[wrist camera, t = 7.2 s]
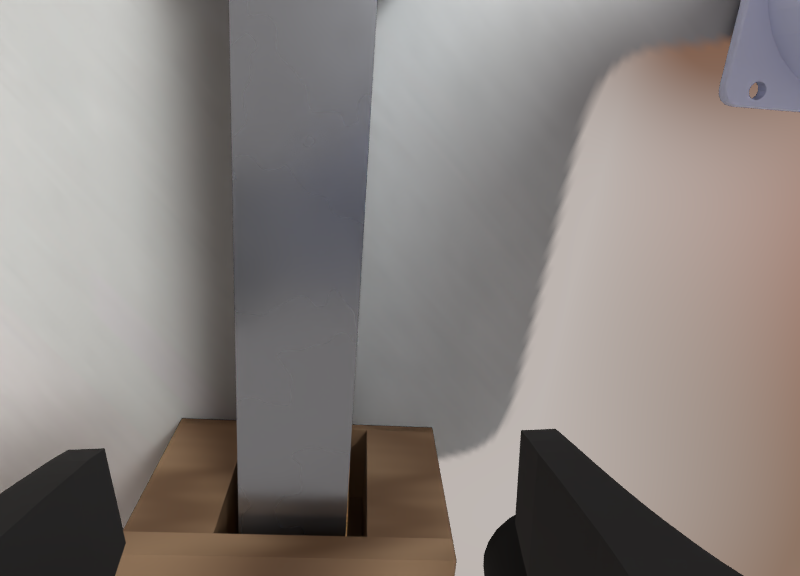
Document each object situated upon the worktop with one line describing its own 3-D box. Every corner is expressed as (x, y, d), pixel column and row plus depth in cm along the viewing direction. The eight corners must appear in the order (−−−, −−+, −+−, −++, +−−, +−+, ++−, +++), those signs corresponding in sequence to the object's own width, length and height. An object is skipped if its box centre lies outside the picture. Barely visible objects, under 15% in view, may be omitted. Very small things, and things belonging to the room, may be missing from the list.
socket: (431, 427, 22) (456, 561, 16) (422, 514, 23) (441, 667, 17) (182, 418, 21) (110, 554, 15) (186, 508, 22) (123, 665, 17)
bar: (382, -85, 16) (388, -144, 11) (348, 479, 22) (344, 581, 17) (263, -98, 15) (222, -163, 11) (263, 476, 21) (237, 579, 17)
